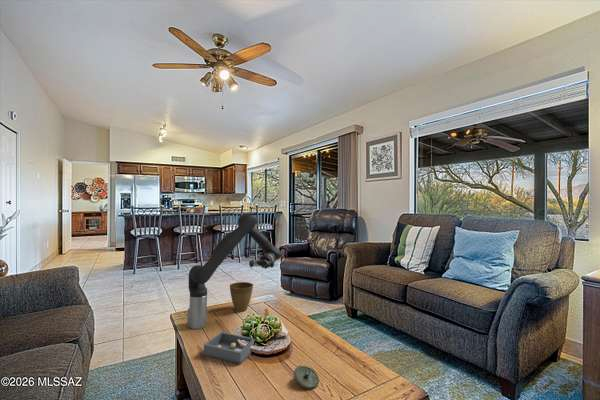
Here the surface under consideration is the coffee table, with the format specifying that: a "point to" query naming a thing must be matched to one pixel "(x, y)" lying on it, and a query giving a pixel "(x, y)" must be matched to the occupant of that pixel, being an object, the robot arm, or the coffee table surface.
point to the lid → (306, 377)
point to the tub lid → (268, 313)
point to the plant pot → (241, 295)
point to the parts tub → (228, 348)
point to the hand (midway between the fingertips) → (258, 266)
